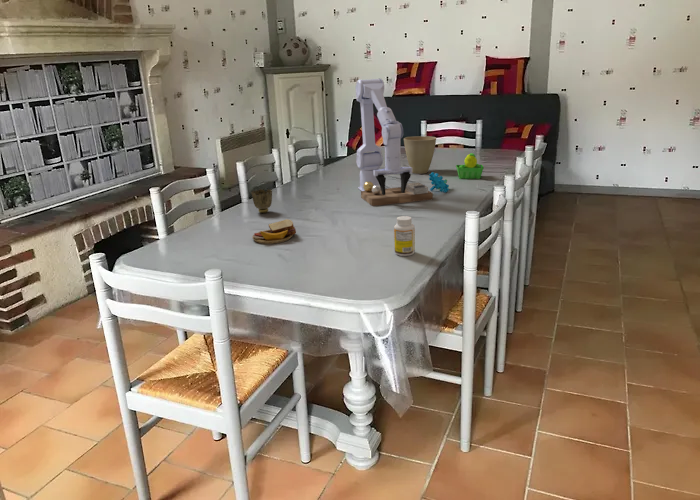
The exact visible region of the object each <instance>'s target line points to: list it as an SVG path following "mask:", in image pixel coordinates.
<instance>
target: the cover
mask: <svg viewBox="0 0 700 500" xmlns="http://www.w3.org/2000/svg"><path fill="white" fill-rule="evenodd" d="M405 190H407V191H409V192H411V193H412V194H423V193H428V191H429V187H428V186H426V185H425V184H422V183H421V182H418V181H417V182H407V185H406V189H405Z"/></svg>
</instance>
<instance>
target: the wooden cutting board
mask: <svg viewBox="0 0 700 500" xmlns="http://www.w3.org/2000/svg"><path fill="white" fill-rule="evenodd" d="M433 196H434V194H433V191H431V190H428V193H423V194H412V193H411V192H409V191H407V190H405V193H402V192H401V186H398V187H389V188H385V195H383V194H382V192H380V193H379V194H374V193H373V192H372V191H370V192H367V191H361V190H360V198H361V199H363V200H364V201H365V202H366V203H367V204H369V205H370V206H372V207H374V206H383V205H392V204H402V203H412V202H421V201H422V202H423V201H430V200H431V199H432V200H433V198H434V197H433Z"/></svg>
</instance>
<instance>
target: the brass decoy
mask: <svg viewBox="0 0 700 500" xmlns="http://www.w3.org/2000/svg"><path fill="white" fill-rule="evenodd" d="M373 186H374V185H373V183H372V182H369V181H368V182H365V183H364V185H363V188H364V190H365V191H367V192H370V191H372V187H373Z"/></svg>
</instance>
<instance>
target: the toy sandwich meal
mask: <svg viewBox="0 0 700 500" xmlns="http://www.w3.org/2000/svg"><path fill="white" fill-rule="evenodd" d="M268 228H269V229H266V230H260V231H258V232H255V233H253V235H252V239H253V240H254V241H255V242H256V243H259V244H267V245H268V244H269V245H272V244H280V243H284V242H287V241H289V240H291V238H292V237H293V236H294V235H296V232H297V231H296V227H295V226H294V222H293V221H292V220H291V219H288V218H287V219H283V220H280V221H275V222H273V223H269V224H268Z"/></svg>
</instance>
